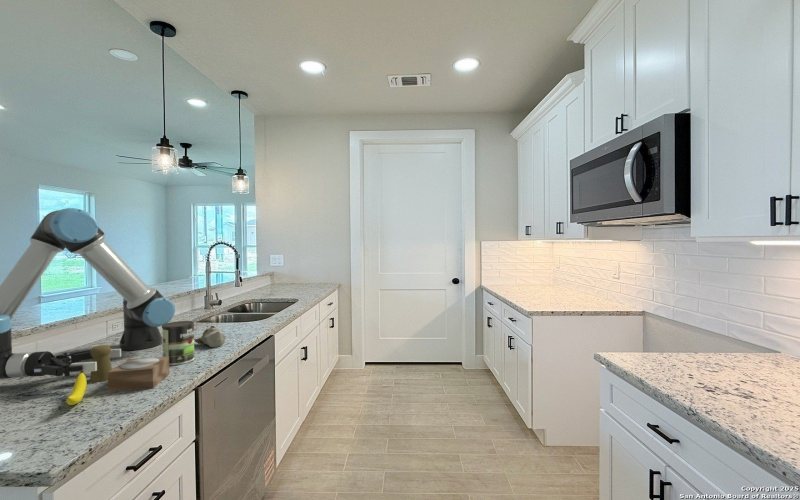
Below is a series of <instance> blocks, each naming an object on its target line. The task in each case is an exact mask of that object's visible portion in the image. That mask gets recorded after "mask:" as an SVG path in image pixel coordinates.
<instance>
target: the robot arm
mask: <svg viewBox="0 0 800 500" xmlns="http://www.w3.org/2000/svg"><path fill="white" fill-rule="evenodd" d="M105 238H106V233H105V232H104V231H103V230H102V229H101V228H100V227H99V224H98V221H97V219H96V217H95V216H94V215H92V214H91V213H90V212H88V211H86V210H84V209H79V208H74V207H68V208H62V209H59V210H54V211H50V212H49V213H47V214H46V215H45V216H44V217H43V218H42V219H41V221H40V222H39V224H38V226H37V227H36V230H35V231H34V232H33V234H32V235H31V237H30V238H29V241H30V244H29V246H28V247H27V248H26V250H25V251H24V253H22V255H21V257H19V259H18V260H17V262H16V263H15V265H14V266H13V267H12V269H10V272H9V273H8V274H7V276H6V277H5V278H4V280H3V281H2V283H1V284H0V380H3V379H4V380H5V379H16V378H19V379H20V380H23V379H25V378H28V377H30V378H31V377H34V378H35V377H43V376H52V377H63V376H64V377H69V376H70V375H71V374H73V373H74V374H75V373H80V372H81V371H84V372H83V373H88V372H90V373H91V371H97V362H92V361H88V360H93V357H92V356H91V354H90V352H91V349H86V350H85V349H84V350H79V351H71V352H64V353H63V354H58V355H54V354H53V353H52V352H51V351H48V350H46V351H27V352H25V351H24V352H15V353H13V346H12V345H13V344H12V343H13V342H12V337H13V336H12V327H13V324H12V318H13V317H14V316H15V314H16V312H17V311H18V309H19V308H20V307H21V306H22V304H23V303H24V301H25V300H26V298H27V297H28V295H29V294H30V292H31V291H32V289H33V288H34V287H35V286H36V284H37V282H38V281H39V280H40V278H41V277H42V275H43V274H44V273H45V271H46V270H47V269H48V267H49V266H50V264H51V263H52V261H53V260H54V258H55V257H56V255H57V254H59V253H61V252H64V250H65V249H67V251H68V252H70V253H71V254H75V255H76V254H78V255H79V256H80V257H81V258H83V259H84V260H85V261H86V263H88V264H89V265H90V266H91V267H92V268H93V270H95V271H96V272H97V273H98V274H99V275H100V276H101V277H102V278H103V279H104V280H105V282H107V283H108V284H109V285H110V286H111V287H112V288H113V289H114V290H115V291H116V292H117V293H118V294H119V295H120V296H121V297H122V300H123V301H122V304H123V305H122V307H123V308H122V310H123V332H122V335H121V337H120V340H119V343H118V345H119V346H118V348H111V352H110V354H109V357H110V359H111V358H121V357H122V351H139V350H145V349H150V348H153V347H157V346H159V345H161V344H163V335H162V334H161V331H160V329H159V327H162V325H164V324H167V323H170V321H171V320H172V319H173V318H174V316H175V313H176V306H175V303H174V302H173V300H171V299H169V298H168V297H164V295H163V294H162V293H160V291H159V290H158V289H157V288H156V287H150V286H148V285H147V284H146V283H145V282H144V280H142V279H141V277H139V275H138V274H137V273H136V272H135V271H134V270H133V269H132V268H131V267H130V266H129V265H128V264H127V262H126V261H124V259H123V258H122V257H121V256H120V255H119V254H118V253H117V252H116V251H115V250H114V249H113V248H112V247H111V245H109V244H108V242H107V241H106V240H105ZM83 361H85V362H83ZM86 361H87V362H86Z"/></svg>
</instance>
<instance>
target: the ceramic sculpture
mask: <svg viewBox="0 0 800 500" xmlns="http://www.w3.org/2000/svg"><path fill="white" fill-rule="evenodd" d="M225 342H226V335H225V334H224V332H222V331H220V329H218V327H216V326H215V325H211V326H210V327H209V328H206V329H205V330H204V331H203V333H202V335H201V337H199V338H194V343H196V344H199V345H203V344H205V345H207V346H209V347H210V348H219V347H221V346H223V345H224V344H225Z"/></svg>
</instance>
